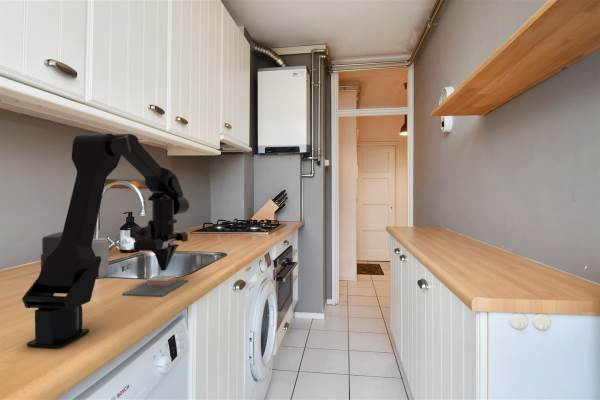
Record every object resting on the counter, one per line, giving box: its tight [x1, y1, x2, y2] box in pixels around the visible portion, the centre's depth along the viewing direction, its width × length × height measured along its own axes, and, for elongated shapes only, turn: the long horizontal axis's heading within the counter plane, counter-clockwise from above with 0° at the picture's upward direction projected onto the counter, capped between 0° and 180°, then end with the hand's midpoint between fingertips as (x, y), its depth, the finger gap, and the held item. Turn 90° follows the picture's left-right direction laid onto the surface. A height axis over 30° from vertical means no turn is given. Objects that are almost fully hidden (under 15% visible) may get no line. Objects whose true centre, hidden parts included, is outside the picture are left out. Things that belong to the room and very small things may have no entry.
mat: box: [121, 279, 189, 298], centre depth 86 cm, size 14×11×1 cm
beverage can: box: [92, 237, 110, 279], centre depth 98 cm, size 5×5×12 cm
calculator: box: [40, 231, 63, 270], centre depth 86 cm, size 11×4×15 cm, turn 21°
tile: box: [146, 274, 177, 286], centre depth 89 cm, size 2×6×5 cm
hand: (163, 270), depth 89 cm, fingers closed
